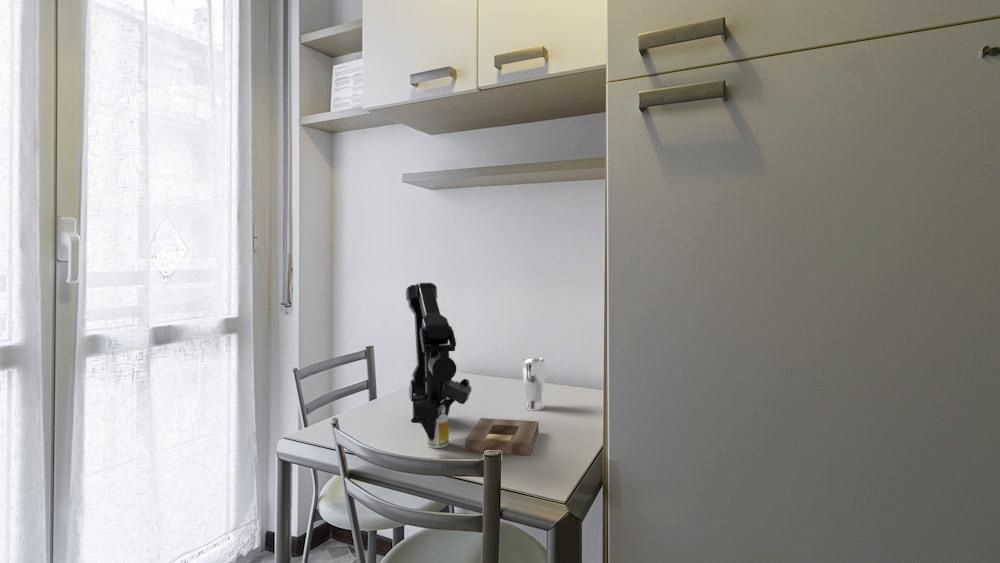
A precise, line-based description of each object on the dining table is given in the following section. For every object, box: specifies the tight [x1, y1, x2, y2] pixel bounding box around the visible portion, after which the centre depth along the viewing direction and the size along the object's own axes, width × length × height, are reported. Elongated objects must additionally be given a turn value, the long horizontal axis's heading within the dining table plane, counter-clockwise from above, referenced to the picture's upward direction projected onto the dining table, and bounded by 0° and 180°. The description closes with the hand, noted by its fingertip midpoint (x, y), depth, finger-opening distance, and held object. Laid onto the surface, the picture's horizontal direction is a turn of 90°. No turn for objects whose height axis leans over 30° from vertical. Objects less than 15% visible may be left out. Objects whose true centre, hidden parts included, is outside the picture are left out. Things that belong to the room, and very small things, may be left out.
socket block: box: [464, 417, 540, 457], centre depth 129 cm, size 16×16×3 cm
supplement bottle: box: [426, 405, 450, 449], centre depth 127 cm, size 5×5×10 cm
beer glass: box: [522, 357, 546, 412], centre depth 157 cm, size 7×7×15 cm
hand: (437, 432), depth 128 cm, fingers open, 9 cm apart
